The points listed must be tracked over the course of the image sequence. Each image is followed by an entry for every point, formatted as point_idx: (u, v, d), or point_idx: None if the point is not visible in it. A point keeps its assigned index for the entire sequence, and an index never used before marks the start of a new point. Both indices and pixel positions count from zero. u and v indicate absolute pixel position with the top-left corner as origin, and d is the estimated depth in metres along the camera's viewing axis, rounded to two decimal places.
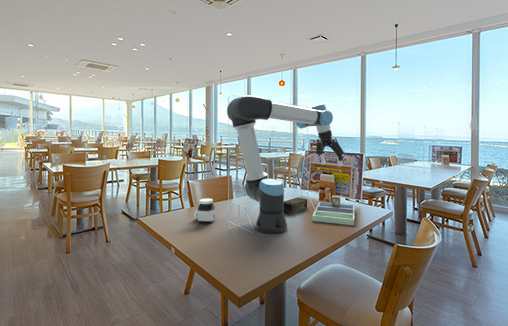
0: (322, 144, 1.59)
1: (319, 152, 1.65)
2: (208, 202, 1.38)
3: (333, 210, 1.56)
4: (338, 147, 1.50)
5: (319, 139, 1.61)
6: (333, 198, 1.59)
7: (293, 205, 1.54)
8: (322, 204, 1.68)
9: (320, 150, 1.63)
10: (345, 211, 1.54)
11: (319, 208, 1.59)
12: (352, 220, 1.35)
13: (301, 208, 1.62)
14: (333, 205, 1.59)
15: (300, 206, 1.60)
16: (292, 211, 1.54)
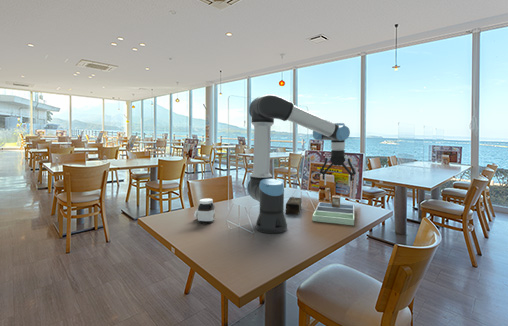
0: (333, 163, 1.57)
1: (324, 172, 1.60)
2: (208, 202, 1.38)
3: (333, 210, 1.56)
4: (352, 167, 1.55)
5: (328, 158, 1.59)
6: (333, 198, 1.59)
7: (299, 205, 1.54)
8: (322, 204, 1.68)
9: (327, 169, 1.59)
10: (345, 211, 1.54)
11: (319, 208, 1.59)
12: (352, 220, 1.35)
13: (300, 207, 1.64)
14: (333, 205, 1.59)
15: (300, 205, 1.62)
16: (299, 211, 1.54)
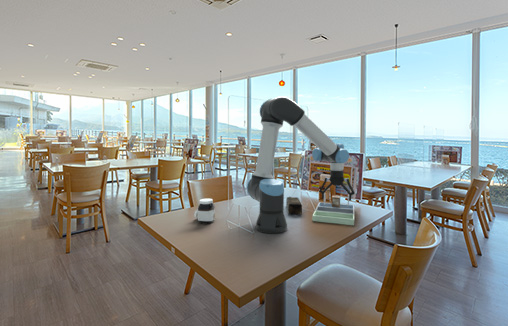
0: (332, 183, 1.59)
1: (324, 191, 1.62)
2: (208, 202, 1.38)
3: (333, 210, 1.56)
4: (351, 187, 1.57)
5: (327, 178, 1.61)
6: (333, 198, 1.59)
7: (301, 205, 1.55)
8: (322, 204, 1.68)
9: (326, 189, 1.61)
10: (345, 211, 1.54)
11: (319, 208, 1.59)
12: (352, 220, 1.35)
13: None
14: (333, 205, 1.59)
15: None
16: (301, 211, 1.55)
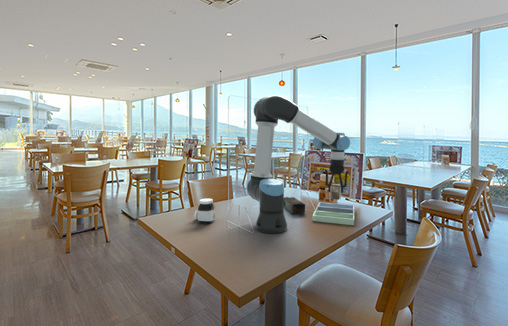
0: (333, 172, 1.58)
1: (329, 184, 1.60)
2: (208, 202, 1.38)
3: (333, 210, 1.56)
4: (346, 179, 1.57)
5: None
6: (332, 186, 1.58)
7: None
8: (322, 204, 1.68)
9: (331, 181, 1.59)
10: (345, 211, 1.54)
11: (319, 208, 1.59)
12: (352, 220, 1.35)
13: None
14: (333, 193, 1.58)
15: None
16: None
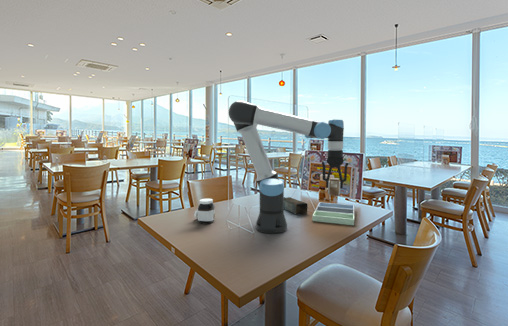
0: (331, 165, 1.39)
1: (327, 178, 1.41)
2: (208, 202, 1.38)
3: (333, 210, 1.56)
4: (346, 173, 1.38)
5: (324, 161, 1.41)
6: (330, 181, 1.39)
7: None
8: (322, 204, 1.68)
9: (328, 175, 1.40)
10: (345, 211, 1.54)
11: (319, 208, 1.59)
12: (352, 220, 1.35)
13: None
14: (331, 189, 1.39)
15: None
16: None
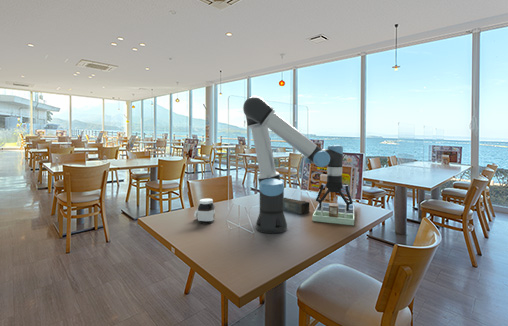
0: (330, 190, 1.40)
1: (321, 200, 1.43)
2: (208, 202, 1.38)
3: None
4: None
5: (324, 184, 1.42)
6: (330, 207, 1.40)
7: None
8: None
9: (323, 197, 1.42)
10: None
11: None
12: (352, 220, 1.35)
13: None
14: (330, 215, 1.41)
15: None
16: None
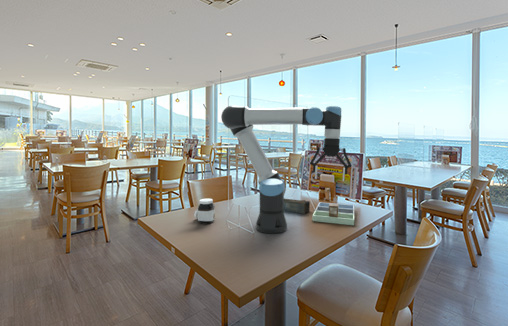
0: (326, 153, 1.35)
1: (315, 163, 1.38)
2: (208, 202, 1.38)
3: None
4: None
5: (320, 147, 1.37)
6: (330, 207, 1.40)
7: None
8: (322, 204, 1.68)
9: (318, 160, 1.37)
10: (345, 211, 1.54)
11: (319, 208, 1.59)
12: (352, 220, 1.35)
13: None
14: (330, 215, 1.41)
15: None
16: None
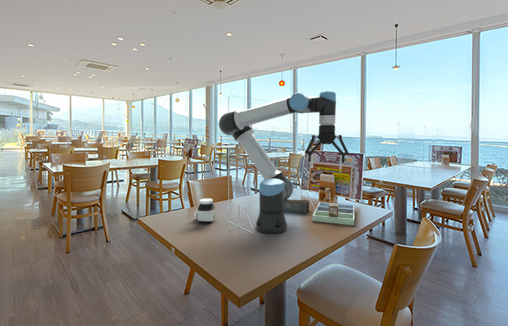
0: (321, 141, 1.29)
1: (311, 152, 1.32)
2: (208, 202, 1.38)
3: None
4: None
5: (315, 135, 1.31)
6: (330, 207, 1.40)
7: None
8: (322, 204, 1.68)
9: (314, 149, 1.31)
10: (345, 211, 1.54)
11: (319, 208, 1.59)
12: (352, 220, 1.35)
13: None
14: (330, 215, 1.41)
15: None
16: None
